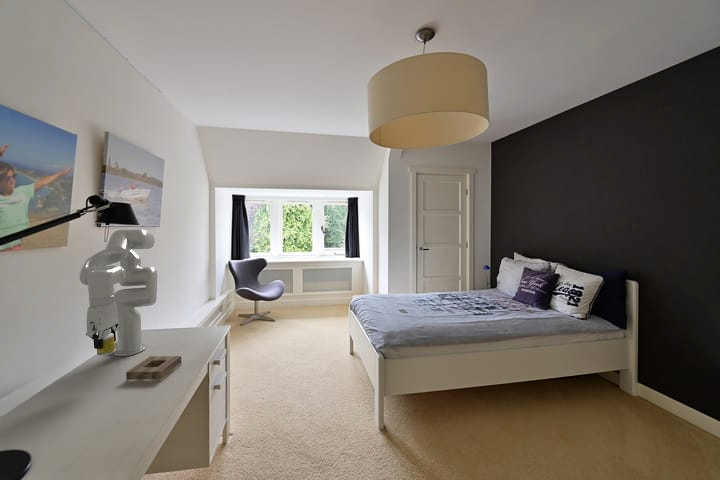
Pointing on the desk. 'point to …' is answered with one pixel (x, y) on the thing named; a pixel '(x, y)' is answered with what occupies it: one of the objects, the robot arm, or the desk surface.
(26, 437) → the desk surface
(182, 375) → the desk surface
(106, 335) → the supplement bottle
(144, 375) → the socket block
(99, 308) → the robot arm
